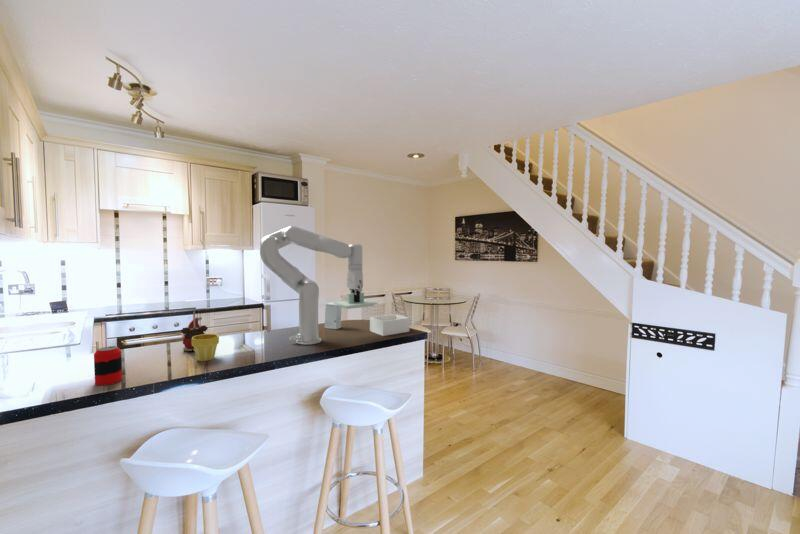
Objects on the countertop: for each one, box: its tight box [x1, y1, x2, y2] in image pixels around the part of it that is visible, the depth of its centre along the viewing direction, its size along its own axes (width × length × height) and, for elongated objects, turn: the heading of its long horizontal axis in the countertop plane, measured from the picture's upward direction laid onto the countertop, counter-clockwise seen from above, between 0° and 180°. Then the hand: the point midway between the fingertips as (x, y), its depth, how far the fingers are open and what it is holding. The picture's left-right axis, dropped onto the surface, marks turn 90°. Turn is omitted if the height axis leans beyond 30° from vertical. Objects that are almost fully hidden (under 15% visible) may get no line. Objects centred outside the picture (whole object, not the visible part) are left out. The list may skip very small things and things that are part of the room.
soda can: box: [93, 345, 123, 386], centre depth 128 cm, size 8×8×12 cm
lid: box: [333, 291, 378, 310], centre depth 193 cm, size 19×15×7 cm
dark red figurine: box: [180, 310, 208, 352], centre depth 169 cm, size 11×9×18 cm
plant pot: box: [192, 333, 220, 362], centre depth 155 cm, size 10×10×10 cm
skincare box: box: [324, 302, 343, 330], centre depth 216 cm, size 8×6×15 cm
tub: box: [369, 313, 410, 337], centre depth 209 cm, size 18×14×8 cm
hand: (355, 301), depth 194 cm, fingers closed on lid, 2 cm apart
